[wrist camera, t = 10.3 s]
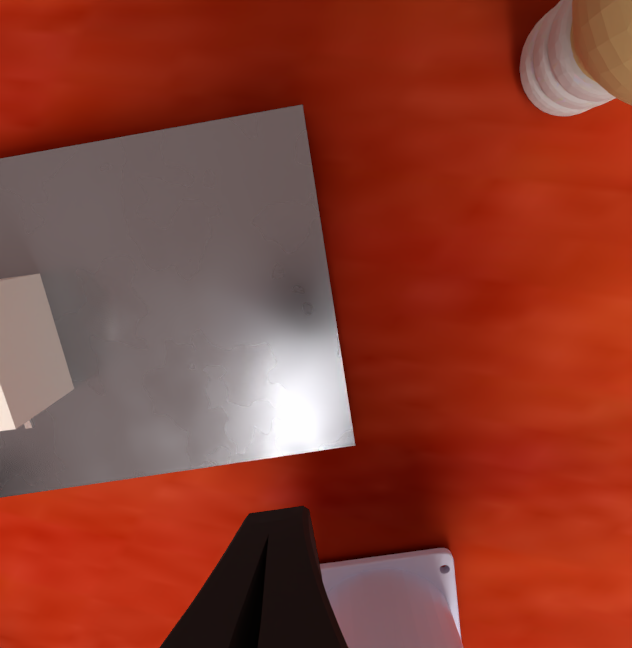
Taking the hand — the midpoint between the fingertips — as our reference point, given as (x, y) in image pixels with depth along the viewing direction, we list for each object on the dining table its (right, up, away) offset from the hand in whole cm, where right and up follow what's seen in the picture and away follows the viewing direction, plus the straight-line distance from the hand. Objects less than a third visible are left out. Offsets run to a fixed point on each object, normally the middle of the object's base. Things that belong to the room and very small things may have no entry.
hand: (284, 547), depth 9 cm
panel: (-8, +5, +9) cm, 13 cm away
